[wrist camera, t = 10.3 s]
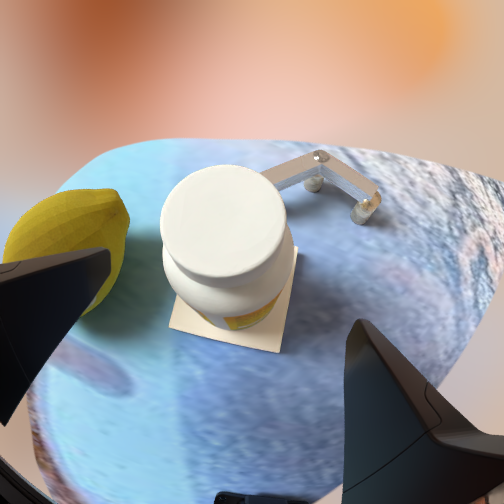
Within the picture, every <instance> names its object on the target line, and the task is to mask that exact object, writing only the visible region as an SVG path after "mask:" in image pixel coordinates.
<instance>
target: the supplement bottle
mask: <svg viewBox="0 0 504 504" xmlns="http://www.w3.org/2000/svg"><path fill="white" fill-rule="evenodd" d="M160 231H161V236H162V240H163V243H164V244H163V265H164V270H165V273H166V276H167V278H168V281H169V283H170V284H171V286H172V288H173V289H174V291H175V292H176V293H177V295H178V296H179V297H180V298H181V299H182V300H183V301H184V302H185V303H186V304H187V305H189V306H190V307H191V308H192V309H193V310H194V311H195V312H196V313H198V314H199V315H200V316H201V317H202V318H203V319H204V320H205V321H207V322H208V323H210V324H211V325H213V326H215V327H217V328H220V329H224V330H232V331H235V330H243V329H247V328H250V327H252V326H254V325H256V324H258V323H259V322H261V321H262V320H263V319H264V318H265V317H266V316H267V315H268V314H269V313H270V312H271V310H272V309H273V307H274V305H275V303H276V301H277V299H278V297H279V295H280V294H281V292H282V290H283V288H284V286H285V284H286V282H287V280H288V278H289V276H290V273H291V270H292V267H293V261H294V244H293V239H292V235H291V232H290V229H289V227H288V225H287V223H286V210H285V206H284V202H283V200H282V197H281V195H280V193H279V192H278V190H277V189H276V187H275V186H274V185H273V184H272V183H271V182H270V181H269V180H268V179H267V178H265V177H264V176H263V175H261V174H260V173H258V172H256V171H254V170H251V169H249V168H246V167H242V166H236V165H215V166H211V167H207V168H204V169H201V170H198V171H196V172H194V173H192V174H190V175H189V176H187V177H186V178H184V179H183V180H182V181H181V182H179V183H178V184H177V186H176V187H175V188H174V189H173V190H172V192H171V193H170V194H169V196H168V197H167V199H166V201H165V203H164V206H163V209H162V212H161V218H160Z"/></svg>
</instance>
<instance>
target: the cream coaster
mask: <svg viewBox="0 0 504 504" xmlns="http://www.w3.org/2000/svg"><path fill="white" fill-rule="evenodd" d="M297 252H298V247H296V246H294V261H293V267H292V270H291V273H290V276H289V278H288V280H287V282H286V284H285V286H284V288H283V290H282V292H281V294H280V295H279V297H278V299H277V301H276V303H275V305H274V307H273V309H272V310H271V312H270V313H269V314H268V315H267V316H266V317H265V318H264V319H263V320H262V321H261V322H259V323H258V324H256V325H254V326H252V327H250V328H247V329H243V330H235V331H232V330H224V329H220V328H217V327H215V326H213V325H211V324H210V323H208V322H207V321H205V320H204V319H203V318H202V317H201V316H200V315H199V314H198V313H196V312H195V311H194V310H193V309H192V308H191V307H190V306H189V305H187V304H186V303H185V302H184V301H183V300H182V299H181V298H180V297H179V296H178V295H177V296H176V300H175V304H174V307H173V311H172V315H171V319H170V323H169V326H168V327H169V328H172V329H175V330H179V331H182V332H186V333H190V334H194V335H198V336H202V337H206V338H210V339H214V340H218V341H222V342H226V343H231V344H235V345H240V346H245V347H249V348H254V349H259V350H264V351H269V352H275V353H279V351H280V346H281V341H282V336H283V331H284V326H285V321H286V315H287V310H288V305H289V299H290V294H291V288H292V282H293V276H294V270H295V264H296V258H297Z"/></svg>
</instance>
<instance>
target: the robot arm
mask: <svg viewBox="0 0 504 504" xmlns="http://www.w3.org/2000/svg"><path fill="white" fill-rule="evenodd" d="M110 273H111V252H110V250H109V249H107V248H104V247H95V248H88V249H82V250H76V251H70V252H65V253H59V254H53V255H48V256H42V257H36V258H31V259H26V260H22V261H21V260H20V261H15V262H9V263H4V264H0V423H1V424H2V425H3V426H4V427H5V426H6V425H7V423H8V421H9V420H10V418H11V416H12V414H13V413H14V411H15V409H16V408H17V406H18V404H19V403H20V401H21V400H22V398H23V396H24V395H25V393H26V392H27V390H28V388H29V387H30V385H31V383H32V382H33V381H34V379H35V378H36V376H37V375H38V373H39V372H40V370H41V369H42V367H43V366H44V364H45V363H46V361H47V360H48V359H49V357H50V356H51V354H52V353H53V352H54V350H55V349H56V348H57V346H58V345H59V343H60V342H61V341H62V339H63V338H64V337H65V335H66V334H67V333H68V331H69V330H70V329H71V328H72V326H73V325H74V324H75V322H76V321H77V320H78V319H79V317H80V316H81V315H82V314H83V312H84V311H85V310H86V309H87V307H88V306H89V305H90V303H91V302H92V301H93V299H94V298H95V296H96V295H97V293H98V292H99V290H100V289H101V287H102V286H103V284H104V283H105V281H106V280H107V278H108V277H109V276H110ZM344 411H345V445H344V476H343V494H342V503H341V504H504V436H502V435H490V434H486V433H484V432H482V431H480V430H478V429H477V428H476V427H475V426H474V425H473V424H472V423H470V422H469V421H468V420H467V419H466V418H465V417H464V416H463V415H462V414H461V413H460V412H459V411H458V410H457V409H455V408H454V407H453V406H452V405H451V404H450V403H449V402H448V401H447V400H446V399H445V398H444V397H443V396H442V395H441V394H440V393H439V392H438V391H437V390H436V389H435V388H434V387H433V386H432V385H431V384H430V382H427V379H426V378H425V377H424V376H423V375H422V374H421V373H420V372H419V371H418V370H417V369H416V368H415V367H414V366H413V365H412V364H411V363H410V362H409V361H408V360H407V359H406V358H405V356H404V355H403V354H402V353H401V352H400V351H399V350H398V349H397V348H396V347H395V346H394V345H393V344H392V343H391V342H390V341H389V340H388V339H387V338H386V337H385V336H384V335H383V334H382V333H381V332H380V331H379V330H378V329H377V328H376V327H375V326H374V325H373V324H372V323H371V322H370V321H368V320H365V319H360V318H359V319H357V320H356V321H355V323H354V325H353V327H352V329H351V331H350V333H349V335H348V337H347V340H346V352H345V368H344ZM220 497H225V498H226V499H225V500H222V499H220ZM0 504H58V503H56V502H55V501H54V500H52V499H51V498H49V497H48V496H47V495H45V494H44V493H43V492H41V491H40V490H39V489H38V488H36V487H35V486H34V485H32V484H31V483H30V482H29V481H28V480H27V479H25V478H24V477H23V476H22V475H21V474H20V473H18V472H17V471H16V470H15V469H14V468H13V467H12V466H11V465H10V464H8V463H7V462H6V461H5V459H3V458H2V457H1V456H0ZM214 504H309V503H308V502H305V501H288V500H285V499H280V498H270V497H261V496H254V495H248V496H244V495H238V494H233V493H228V492H219V493H217V494H216V497H215V501H214Z"/></svg>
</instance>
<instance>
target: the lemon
mask: <svg viewBox="0 0 504 504" xmlns="http://www.w3.org/2000/svg"><path fill="white" fill-rule="evenodd" d="M129 224H130V217H129V214H128V212H127V210H126V208H125V205H124V203H123V201H122V199H121V198H120V196H119V194H118V192H117V191H116V190H114V189H77V190H68V191H64V192H60V193H57V194H55V195H53V196H51V197H48V198H46V199H45V200H43V201H41V202H40V203H38V204H36V205H35V206H34V207H32V209H30V210H29V211H27V212H26V213H25V214H24V215H23V216H22V217H21V218H20V219H19V221H18V222H17V224H16V225H15V226H14V227H13V229H12V231H11V232H10V234H9V237H8V239H7V242H6V245H5V249H4V254H3V263H2V264H4V263H9V262H15V261H20V260H21V261H22V260H26V259H31V258H36V257H42V256H48V255H53V254H59V253H65V252H70V251H76V250H82V249H88V248H95V247H104V248H107V249H109V250H110V252H111V273H110V276H109V277H108V278H107V280H106V281H105V283H104V284H103V286H102V287H101V289H100V290H99V292H98V293H97V295H96V296H95V298H94V299H93V301H92V302H91V303H90V305H89V306H88V307H87V309H86V310H85V311H84V312H83V314H82V315H81V316H83V315H85V314H86V313H88V312H89V311H91V310H92V309H94V308H95V307H96V306H97V305H98V304H100V303H101V302H102V301H103V300H104V298H105V297H106V296H107V295H108V293H109V292H110V290H111V288H112V287H113V285H114V283H115V282H116V279H117V277H118V275H119V273H120V269H121V266H122V263H123V259H124V252H125V239H126V235H127V231H128V227H129ZM81 316H80V317H81Z"/></svg>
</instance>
